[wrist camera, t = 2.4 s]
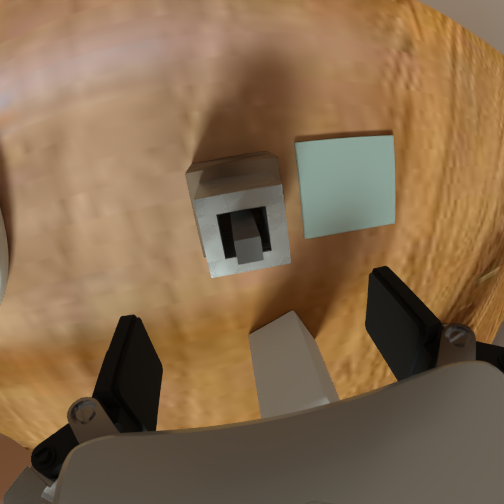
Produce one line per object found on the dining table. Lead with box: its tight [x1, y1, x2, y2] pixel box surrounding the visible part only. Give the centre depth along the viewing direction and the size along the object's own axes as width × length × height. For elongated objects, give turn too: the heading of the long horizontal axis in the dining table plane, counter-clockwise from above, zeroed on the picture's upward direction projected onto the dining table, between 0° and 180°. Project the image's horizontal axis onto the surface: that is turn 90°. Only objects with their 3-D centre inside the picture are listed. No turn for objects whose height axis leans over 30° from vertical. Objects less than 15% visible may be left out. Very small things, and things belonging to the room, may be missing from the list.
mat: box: [294, 135, 395, 239], centre depth 32 cm, size 12×11×1 cm
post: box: [185, 151, 281, 265], centre depth 25 cm, size 8×8×15 cm
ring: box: [193, 170, 291, 278], centre depth 24 cm, size 6×6×6 cm
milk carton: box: [248, 310, 340, 419], centre depth 32 cm, size 7×7×19 cm
